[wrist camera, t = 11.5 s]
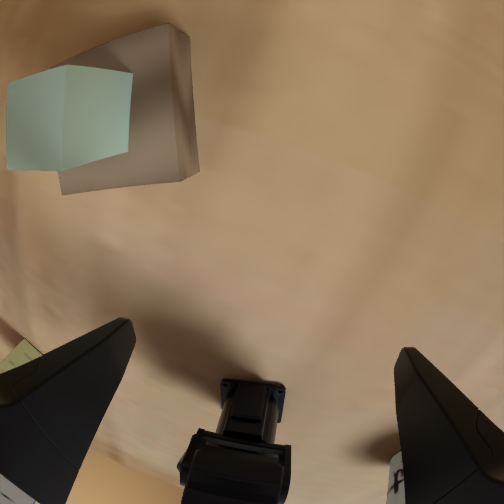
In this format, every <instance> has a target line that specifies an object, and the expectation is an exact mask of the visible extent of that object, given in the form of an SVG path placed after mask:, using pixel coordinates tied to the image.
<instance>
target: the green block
mask: <svg viewBox="0 0 504 504" xmlns="http://www.w3.org/2000/svg"><path fill="white" fill-rule="evenodd" d="M132 80H133V73H127V72H121V71H115V70H109V69H101V68H94V67H85V66H76V65H64V66H60V67H56V68H53V69H49V70H45V71H42V72H39V73H35V74H32V75H29V76H26V77H23V78H20V79H17V80H14V81H12V82H9V83H8V89H7V105H6V157H7V170H42V171H65V170H68V169H71V168H74V167H77V166H81V165H84V164H87V163H90V162H93V161H97V160H100V159H104V158H107V157H111V156H114V155H118V154H122V153H125V152H128V140H129V118H130V103H131V91H132Z"/></svg>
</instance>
